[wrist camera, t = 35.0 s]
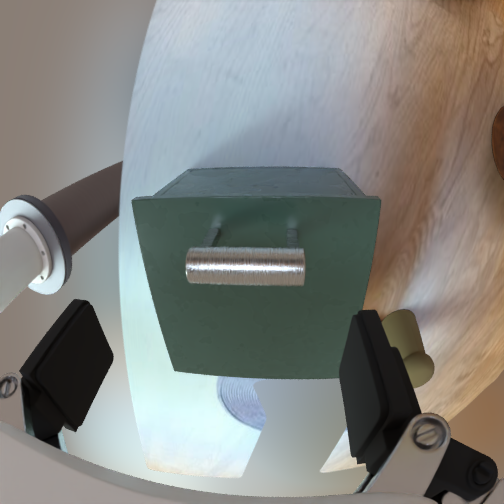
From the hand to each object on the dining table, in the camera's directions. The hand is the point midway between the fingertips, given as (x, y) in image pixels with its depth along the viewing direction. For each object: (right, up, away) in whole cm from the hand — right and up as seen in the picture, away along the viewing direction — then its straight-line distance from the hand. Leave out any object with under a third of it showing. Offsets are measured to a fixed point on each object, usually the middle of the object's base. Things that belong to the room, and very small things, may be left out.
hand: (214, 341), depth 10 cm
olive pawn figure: (+23, -8, +29) cm, 38 cm away
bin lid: (+2, -1, +13) cm, 13 cm away
